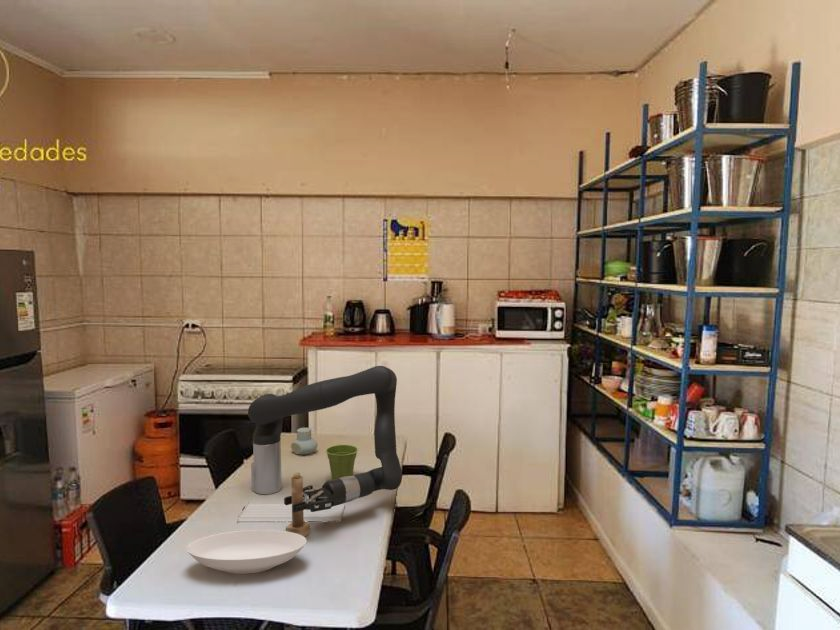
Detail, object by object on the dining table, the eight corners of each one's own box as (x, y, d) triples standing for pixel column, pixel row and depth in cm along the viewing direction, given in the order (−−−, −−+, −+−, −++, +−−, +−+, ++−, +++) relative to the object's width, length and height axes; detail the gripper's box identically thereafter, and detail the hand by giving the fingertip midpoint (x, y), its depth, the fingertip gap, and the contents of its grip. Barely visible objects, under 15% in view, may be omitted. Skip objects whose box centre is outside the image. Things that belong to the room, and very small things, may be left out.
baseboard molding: (339, 526, 161) (345, 508, 173) (339, 517, 160) (344, 499, 172) (236, 526, 160) (249, 508, 172) (236, 517, 160) (248, 500, 172)
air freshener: (320, 453, 223) (320, 429, 222) (304, 458, 217) (303, 434, 216) (304, 447, 230) (304, 424, 230) (288, 452, 224) (288, 429, 223)
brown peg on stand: (285, 537, 152) (284, 475, 151) (296, 528, 158) (295, 469, 156) (300, 540, 151) (299, 478, 149) (311, 531, 156) (310, 471, 154)
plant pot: (348, 487, 187) (348, 456, 186) (319, 483, 192) (319, 452, 191) (364, 476, 198) (364, 446, 197) (336, 471, 203) (336, 442, 202)
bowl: (177, 586, 129) (176, 562, 129) (198, 553, 144) (197, 531, 144) (302, 581, 131) (301, 557, 131) (310, 549, 146) (310, 528, 146)
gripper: (330, 471, 167) (278, 484, 157) (353, 486, 156) (298, 501, 145) (330, 494, 168) (279, 508, 158) (353, 511, 156) (299, 527, 146)
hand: (288, 505), depth 152 cm, fingers open, 5 cm apart
